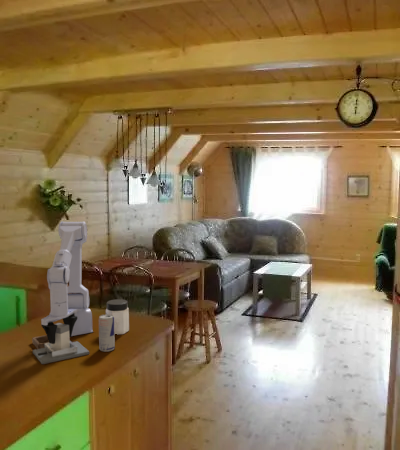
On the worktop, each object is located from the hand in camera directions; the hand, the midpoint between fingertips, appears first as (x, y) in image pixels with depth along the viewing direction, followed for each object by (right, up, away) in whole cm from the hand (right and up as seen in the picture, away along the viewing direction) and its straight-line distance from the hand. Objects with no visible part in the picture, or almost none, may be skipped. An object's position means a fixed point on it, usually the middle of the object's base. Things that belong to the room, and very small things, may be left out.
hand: (60, 339), depth 161 cm
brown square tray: (-8, -4, +9) cm, 13 cm away
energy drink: (+15, -5, +5) cm, 17 cm away
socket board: (0, -5, +1) cm, 5 cm away
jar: (+16, -3, +24) cm, 29 cm away
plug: (0, -4, +1) cm, 4 cm away
